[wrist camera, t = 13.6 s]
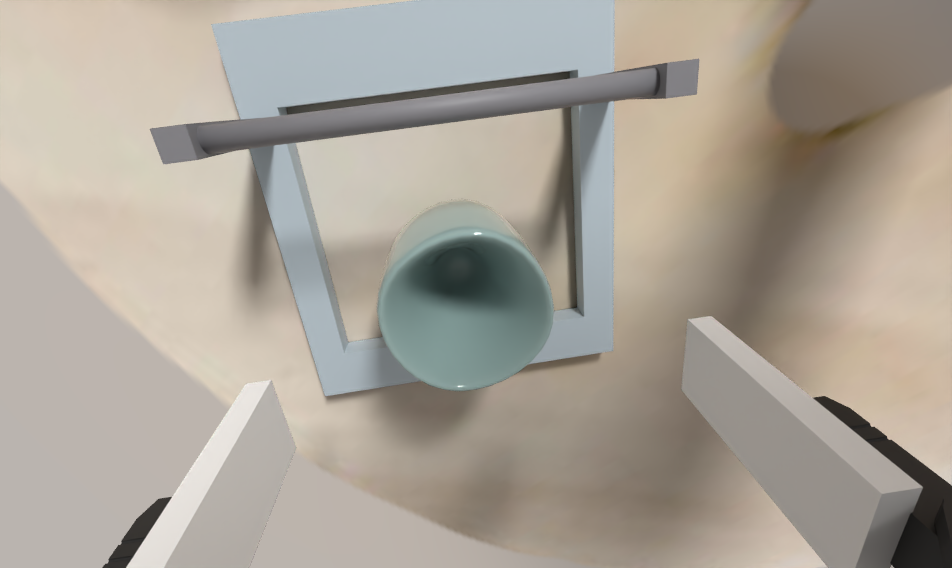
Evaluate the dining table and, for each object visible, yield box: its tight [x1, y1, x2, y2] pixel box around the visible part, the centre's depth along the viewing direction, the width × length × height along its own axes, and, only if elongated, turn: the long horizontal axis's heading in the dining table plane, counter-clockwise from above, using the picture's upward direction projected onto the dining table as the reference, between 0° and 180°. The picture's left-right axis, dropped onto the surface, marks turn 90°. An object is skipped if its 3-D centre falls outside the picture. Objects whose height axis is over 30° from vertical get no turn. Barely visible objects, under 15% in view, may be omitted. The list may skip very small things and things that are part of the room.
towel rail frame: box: [150, 0, 699, 396], centre depth 23 cm, size 22×20×10 cm
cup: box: [377, 199, 554, 391], centre depth 24 cm, size 8×8×10 cm
